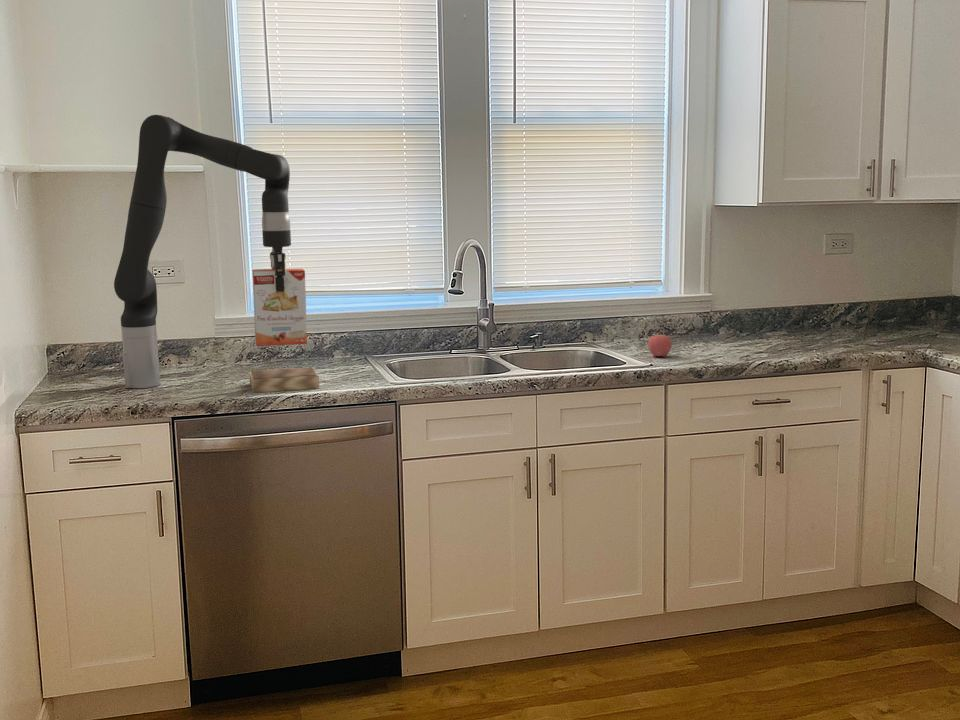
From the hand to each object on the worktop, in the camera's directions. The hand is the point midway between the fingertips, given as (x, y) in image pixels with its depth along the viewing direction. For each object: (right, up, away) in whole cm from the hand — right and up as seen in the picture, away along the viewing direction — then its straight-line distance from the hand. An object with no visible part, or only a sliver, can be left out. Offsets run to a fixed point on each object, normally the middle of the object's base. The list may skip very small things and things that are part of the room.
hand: (279, 290), depth 255 cm
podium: (0, -27, +5) cm, 27 cm away
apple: (+114, -18, +44) cm, 123 cm away
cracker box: (0, -15, +3) cm, 15 cm away
